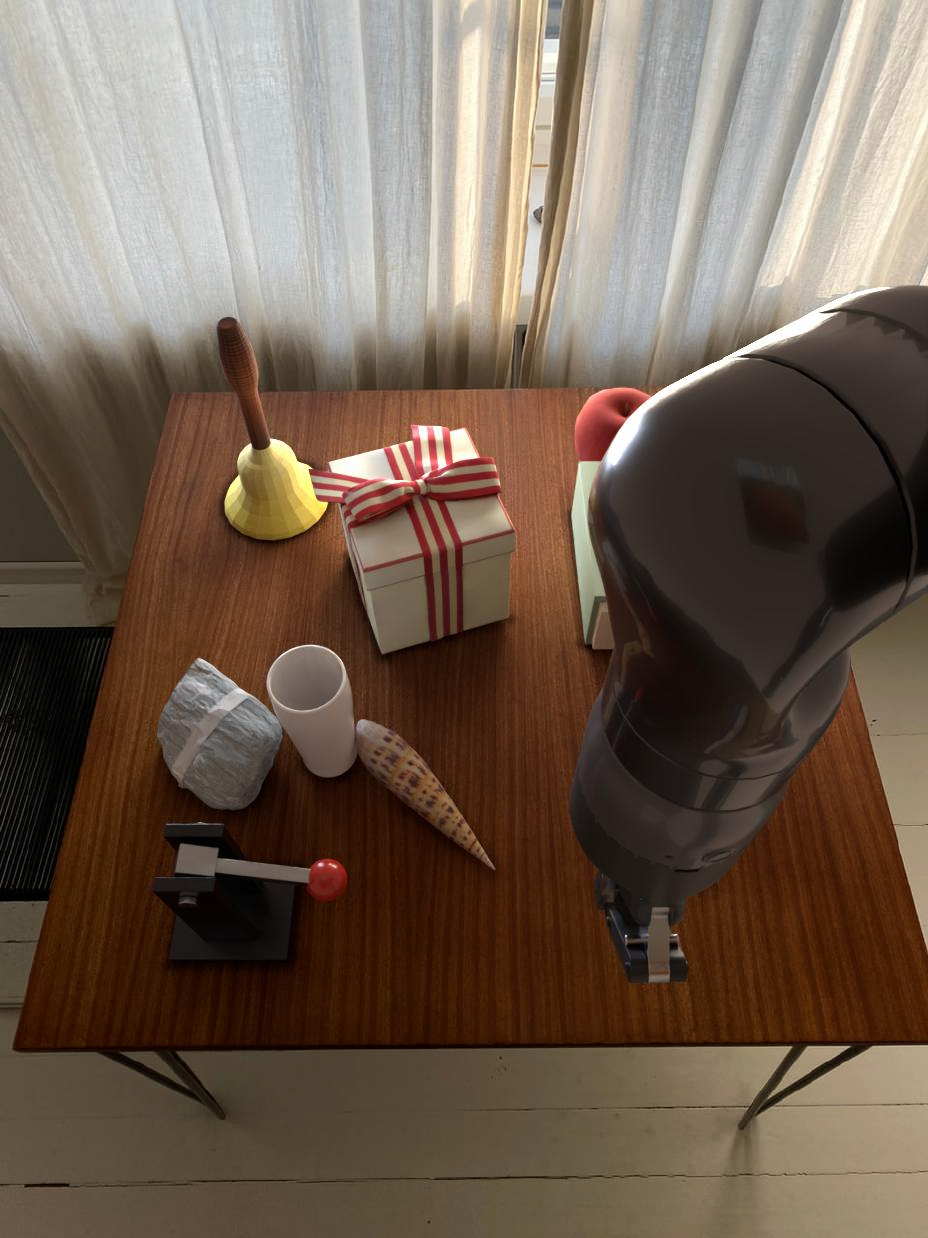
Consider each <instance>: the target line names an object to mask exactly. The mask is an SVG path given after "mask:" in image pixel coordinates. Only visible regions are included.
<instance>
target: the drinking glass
mask: <svg viewBox="0 0 928 1238" xmlns="http://www.w3.org/2000/svg"><path fill="white" fill-rule="evenodd" d="M266 690H267V694H268V697H269V700H270V703H271V706H272V709H273V711H274V714H275V715H276V716H275V717H276V718H277V719H278V721H279V723H280V724H281V727H282V729H283V730H284V731H285V733H286V735H287V736H288V737H289V739H290V740H291V742H292V744H293V745H294V747H295V749H296V750H297V752H298V753H299V755H300V757H301V759H302V761H303V764H304V766H305V767H306V768H307V769H308V771H310V773H312V774H314V775H315V776H318V777H321V778H334V777H338V776H340V775H343V774H344V773H346V772H347V771H349V770H350V769H351V767H353V765H354V763H355V761H356V760H357V756H358V750H357V746H356V726H355V713H354V699H353V692H352V687H351V683H350V679H349V675H348V673H347V670H346V667H345V664H344V662H343V661H342V659H341V658H340V657H339V656H338V655H337V653H335V652H334V651H333V650H331V649H329V648H328V647H325V646H322V645H317V644H316V645H315V644H305V645H304V644H303V645H299V646H296V647H293V648H291V649H289V650H287V651H285V652H283V653H282V654H281V655H280V656H278V658H277V659H276V660H275V661H274V662H273V663H272V665H271V666H270V668H269V670H268V673H267V677H266Z"/></svg>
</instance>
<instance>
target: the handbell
mask: <svg viewBox="0 0 928 1238" xmlns="http://www.w3.org/2000/svg"><path fill="white" fill-rule="evenodd" d="M215 330H216V344H217V346H216V347H217V355H218V358H219V361H220V362H219V363H220V366H221V369H222V372H223V377H224V378H225V380H226V382H227V384H228V385H229V386H230V387H231V389H232V391H233V392H234V394H235V396H236V398H237V401H238V405H239V407H240V411H241V414H242V418H243V421H244V426H245V429H246V431H247V435H248V439H249V442H250V443H248V445H246V446H245V447H244V448H243V449H242V451H241V452H240V453H239V456H238V459H237V472H238V476H237V477H235V479H234V480H233V481H232V483H231V484H230V486H229V488H228V490H227V492H226V496H225V499H224V513H225V516H226V518H227V519H228V521H229V523H230V525H231V526H232V527H234V528H235V529H236V530H237V531H238V532H240V533H241V534H242V535H245V536H247V537H250V538H253V539H256V540H267V541H278V540H283V539H289V538H293V537H294V536H296V535H297V536H298V535H299V534H301V533H304V532H307V530H308V529H310V528H311V527H312V526H313V525H315V524H316V523H318V522H319V520H320V519H321V518H322V516H323V515H324V513H325V511H326V510H327V507H328V504H329V502H320V501H318V500H317V499H316V496H315V494H314V490H313V485H312V482H311V478H310V475H309V471H308V469H313V468H312V467H310V465H308V464H305V463H303V462H299V461H298V460H297V457H296V455H295V453H294V451H293V450H292V448H291V447H290V446H289V445H288V444H286V443H285V442H284V441H281V440H278V439H276V438H275V439H274V438H271V436H270V432H269V429H268V426H267V421H266V418H265V414H264V410H263V407H262V403H261V399H260V395H259V390H258V385H259V378H260V377H259V376H260V375H259V367H258V364H257V363H258V362H257V359H256V356H255V352H254V348H253V346H252V343H251V341H250V339H249V337H248V336H247V333H246V332H245V330H244V327H243V326H242V323H241V322H240V321H239V320H238V318H237V319H236V318H235V317H233V316H225V317H222V318H221V319H219V320H218V322H217V323H216V326H215Z"/></svg>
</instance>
